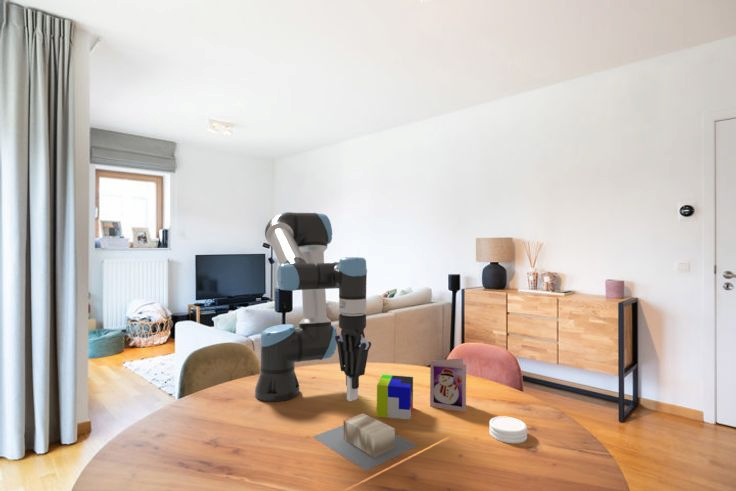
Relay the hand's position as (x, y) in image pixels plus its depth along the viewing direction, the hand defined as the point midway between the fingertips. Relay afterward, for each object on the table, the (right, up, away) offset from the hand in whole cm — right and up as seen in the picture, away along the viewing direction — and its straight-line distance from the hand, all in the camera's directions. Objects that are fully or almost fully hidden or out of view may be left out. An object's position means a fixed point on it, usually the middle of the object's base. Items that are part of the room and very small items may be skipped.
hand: (352, 399), depth 113 cm
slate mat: (+3, -10, -4) cm, 11 cm away
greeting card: (+31, -10, +21) cm, 39 cm away
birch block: (0, -7, 0) cm, 7 cm away
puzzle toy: (+13, -10, +16) cm, 23 cm away
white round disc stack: (+43, -11, +1) cm, 45 cm away
